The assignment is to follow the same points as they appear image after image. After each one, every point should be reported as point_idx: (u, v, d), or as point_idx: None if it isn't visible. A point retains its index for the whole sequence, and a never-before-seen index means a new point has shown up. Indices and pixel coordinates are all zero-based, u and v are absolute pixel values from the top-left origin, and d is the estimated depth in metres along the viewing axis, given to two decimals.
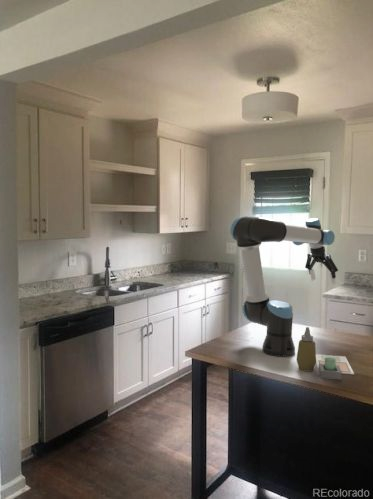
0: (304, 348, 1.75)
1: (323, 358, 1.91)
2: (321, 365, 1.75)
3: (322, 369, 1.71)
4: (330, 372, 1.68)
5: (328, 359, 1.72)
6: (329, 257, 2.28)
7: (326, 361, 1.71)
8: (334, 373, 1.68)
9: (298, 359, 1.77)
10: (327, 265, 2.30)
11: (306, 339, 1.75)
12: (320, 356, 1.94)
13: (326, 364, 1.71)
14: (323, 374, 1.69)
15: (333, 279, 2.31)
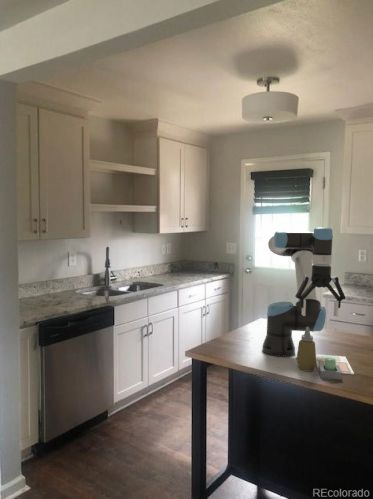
0: (304, 348, 1.75)
1: (323, 358, 1.91)
2: (321, 365, 1.75)
3: (322, 369, 1.71)
4: (330, 372, 1.68)
5: (328, 359, 1.72)
6: (305, 279, 1.75)
7: (326, 361, 1.71)
8: (334, 373, 1.68)
9: (298, 359, 1.77)
10: (306, 289, 1.77)
11: (306, 339, 1.75)
12: (320, 356, 1.94)
13: (326, 364, 1.71)
14: (323, 374, 1.69)
15: (302, 309, 1.76)
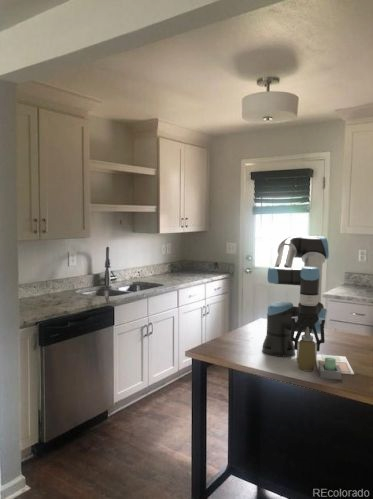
0: (304, 348, 1.75)
1: (323, 358, 1.91)
2: (321, 365, 1.75)
3: (322, 369, 1.71)
4: (330, 372, 1.68)
5: (328, 359, 1.72)
6: (292, 321, 1.78)
7: (326, 361, 1.71)
8: (334, 373, 1.68)
9: (298, 359, 1.77)
10: (298, 330, 1.79)
11: (306, 339, 1.75)
12: (320, 356, 1.94)
13: (326, 364, 1.71)
14: (323, 374, 1.69)
15: (297, 351, 1.79)
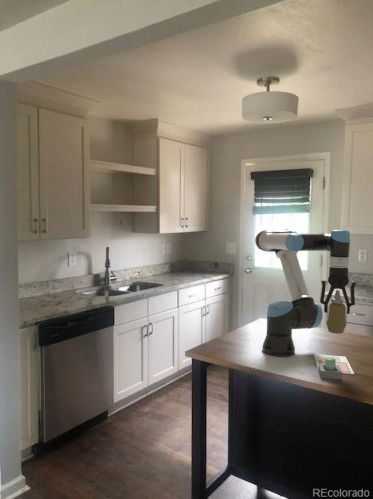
0: (335, 311, 1.76)
1: (323, 358, 1.91)
2: (321, 365, 1.75)
3: (322, 369, 1.71)
4: (330, 372, 1.68)
5: (328, 359, 1.72)
6: (322, 284, 1.79)
7: (326, 361, 1.71)
8: (334, 373, 1.68)
9: (328, 322, 1.78)
10: (328, 293, 1.80)
11: (336, 301, 1.76)
12: (320, 356, 1.94)
13: (326, 364, 1.71)
14: (323, 374, 1.69)
15: (326, 314, 1.80)
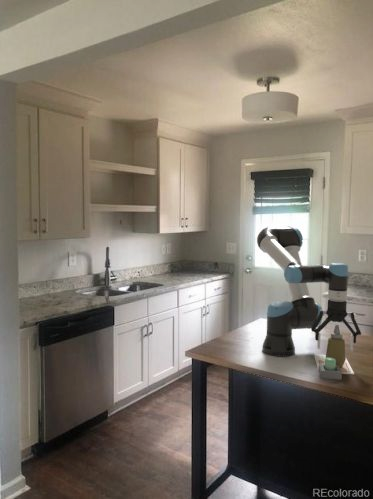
0: (334, 345, 1.78)
1: (323, 358, 1.91)
2: (321, 365, 1.75)
3: (322, 369, 1.71)
4: (330, 372, 1.68)
5: (328, 359, 1.72)
6: (319, 313, 1.80)
7: (326, 361, 1.71)
8: (334, 373, 1.68)
9: (328, 356, 1.80)
10: None
11: (336, 336, 1.78)
12: (320, 356, 1.94)
13: (326, 364, 1.71)
14: (323, 374, 1.69)
15: None
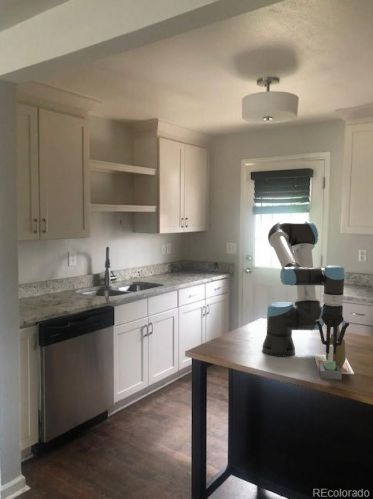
0: None
1: (323, 358, 1.91)
2: (321, 365, 1.75)
3: (322, 369, 1.71)
4: (330, 372, 1.68)
5: (328, 361, 1.72)
6: (317, 324, 1.71)
7: (326, 363, 1.71)
8: (334, 373, 1.68)
9: None
10: (326, 333, 1.72)
11: None
12: (320, 356, 1.94)
13: (326, 366, 1.71)
14: (323, 374, 1.69)
15: (328, 355, 1.72)
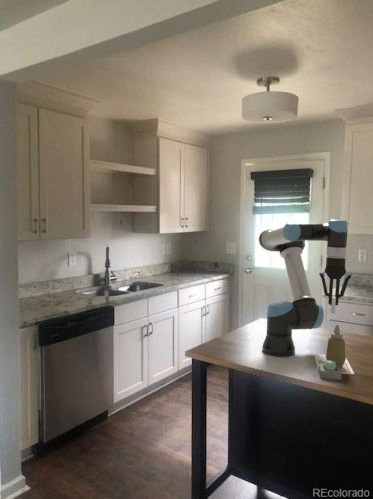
0: (334, 346, 1.77)
1: (323, 358, 1.91)
2: (321, 365, 1.75)
3: (322, 369, 1.71)
4: (330, 372, 1.68)
5: (328, 362, 1.72)
6: (320, 276, 1.78)
7: (326, 364, 1.71)
8: (334, 373, 1.68)
9: (328, 356, 1.80)
10: (329, 285, 1.78)
11: (336, 336, 1.78)
12: (320, 356, 1.94)
13: (326, 367, 1.71)
14: (323, 374, 1.69)
15: (331, 306, 1.78)
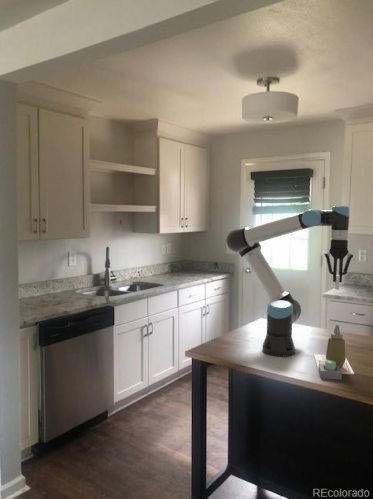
0: (334, 346, 1.77)
1: (323, 358, 1.91)
2: (321, 365, 1.75)
3: (322, 369, 1.71)
4: (330, 372, 1.68)
5: (328, 362, 1.72)
6: (326, 257, 1.99)
7: (326, 364, 1.71)
8: (334, 373, 1.68)
9: (328, 356, 1.80)
10: None
11: (336, 336, 1.78)
12: (320, 356, 1.94)
13: (326, 367, 1.71)
14: (323, 374, 1.69)
15: (335, 283, 2.00)
